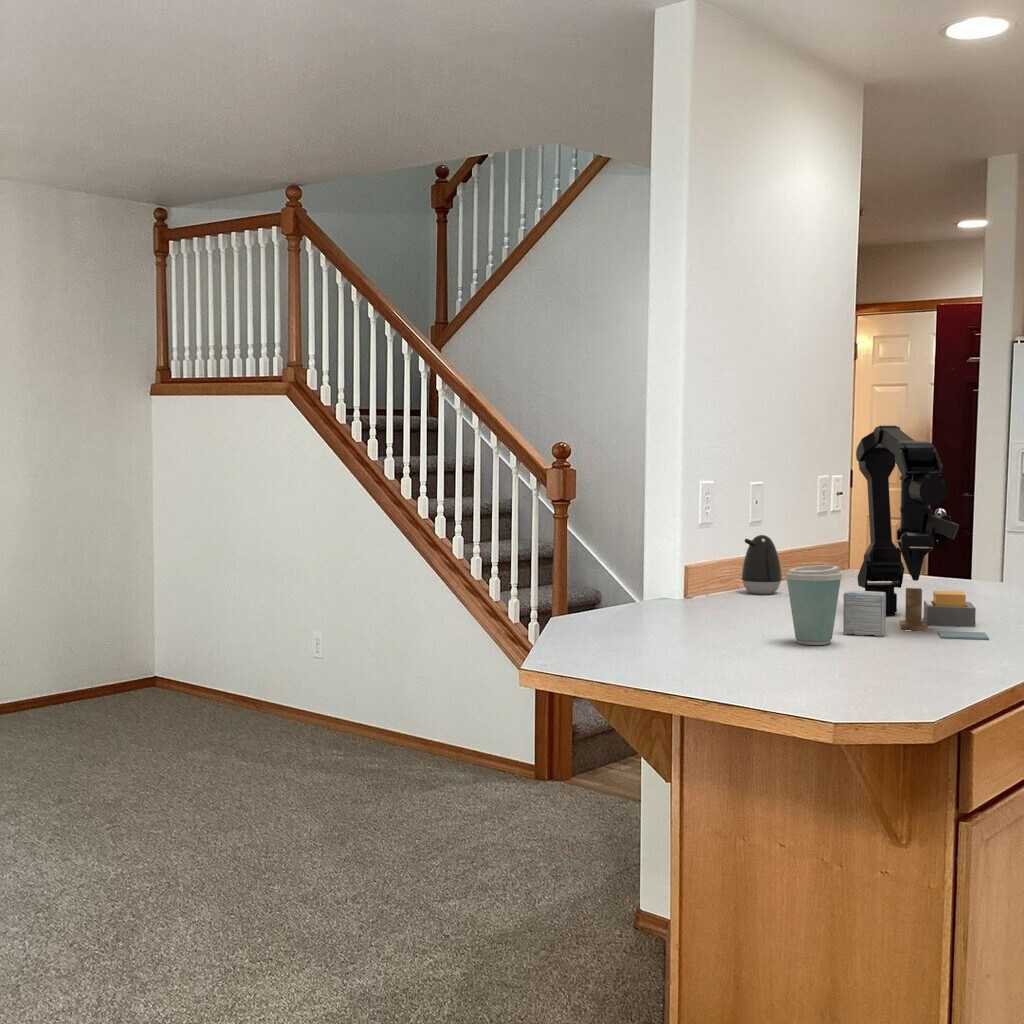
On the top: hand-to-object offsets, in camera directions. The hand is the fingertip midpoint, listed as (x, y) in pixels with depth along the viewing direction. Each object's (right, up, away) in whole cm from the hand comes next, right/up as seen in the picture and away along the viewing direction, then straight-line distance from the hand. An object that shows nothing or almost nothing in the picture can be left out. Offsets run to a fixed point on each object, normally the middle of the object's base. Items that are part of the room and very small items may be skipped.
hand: (914, 577), depth 243 cm
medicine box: (-12, -11, -6) cm, 17 cm away
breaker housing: (+11, -10, +9) cm, 17 cm away
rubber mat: (+7, -11, -9) cm, 16 cm away
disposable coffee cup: (-25, -12, -15) cm, 32 cm away
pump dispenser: (-19, -8, +60) cm, 63 cm away
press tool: (0, -11, +1) cm, 11 cm away
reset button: (+11, -7, +9) cm, 16 cm away
